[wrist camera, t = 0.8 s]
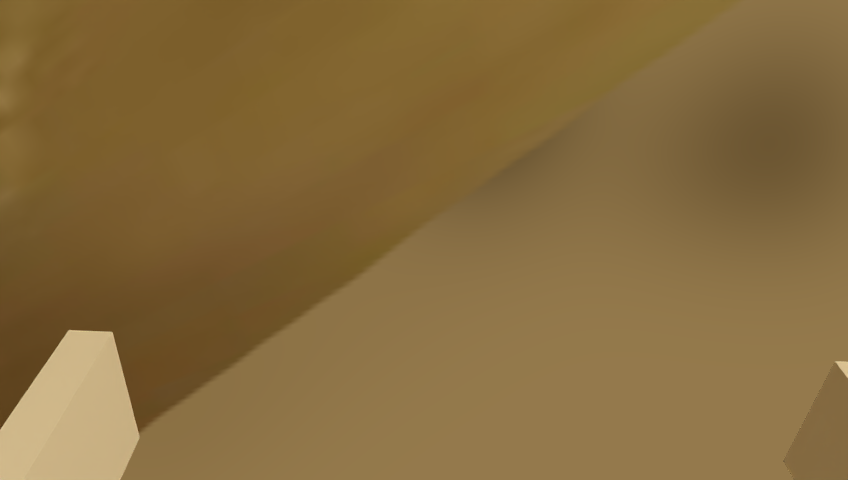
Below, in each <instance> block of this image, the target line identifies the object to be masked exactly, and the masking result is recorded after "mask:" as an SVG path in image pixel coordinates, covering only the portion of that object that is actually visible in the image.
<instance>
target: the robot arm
mask: <svg viewBox="0 0 848 480" xmlns="http://www.w3.org/2000/svg"><path fill="white" fill-rule="evenodd" d="M138 440H139V433H138V429H137V425H136V422H135V418H134V414H133V410H132V406H131V402H130V398H129V394H128V391H127V387H126V383H125V379H124V375H123V371H122V367H121V363H120V359H119V356H118V352H117V348H116V344H115V340H114V336H113V332H102V331H78V330H69V331H68V332H67V333H66V335H65V336H64V338H63V339H62V341H61V342H60V344H59V345H58V346H57V348H56V349H55V351H54V352H53V354H52V355H51V357H50V358H49V360H48V361H47V362H46V364H45V365H44V367H43V368H42V370H41V371H40V373H39V374H38V375H37V377H36V378H35V380H34V381H33V383H32V384H31V386H30V387H29V389H28V390H27V391H26V393H25V394H24V396H23V397H22V399H21V400H20V402H19V403H18V404H17V406H16V407H15V409H14V410H13V412H12V413H11V415H10V416H9V418H8V419H7V420H6V422H5V423H4V425H3V426H2V428H1V429H0V480H120V479H121V477H122V475H123V473H124V471H125V468H126V466H127V464H128V462H129V459H130V457H131V455H132V453H133V451H134V449H135V447H136V444H137V442H138ZM784 463H785V465H786V466H787V468H788V470H789V472H790V474H791V475H792V477H793V479H794V480H848V362H836V361H835V363H834V364H833V366H832V368H831V370H830V372H829V374H828V376H827V378H826V380H825V382H824V384H823V386H822V388H821V389H820V391H819V393H818V395H817V397H816V399H815V401H814V403H813V405H812V407H811V409H810V411H809V412H808V414H807V416H806V418H805V420H804V422H803V424H802V426H801V428H800V430H799V432H798V434H797V436H796V438H795V439H794V442H793V443H792V445H791V447H790V449H789V451H788V453H787V455H786V457H785V459H784Z"/></svg>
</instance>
